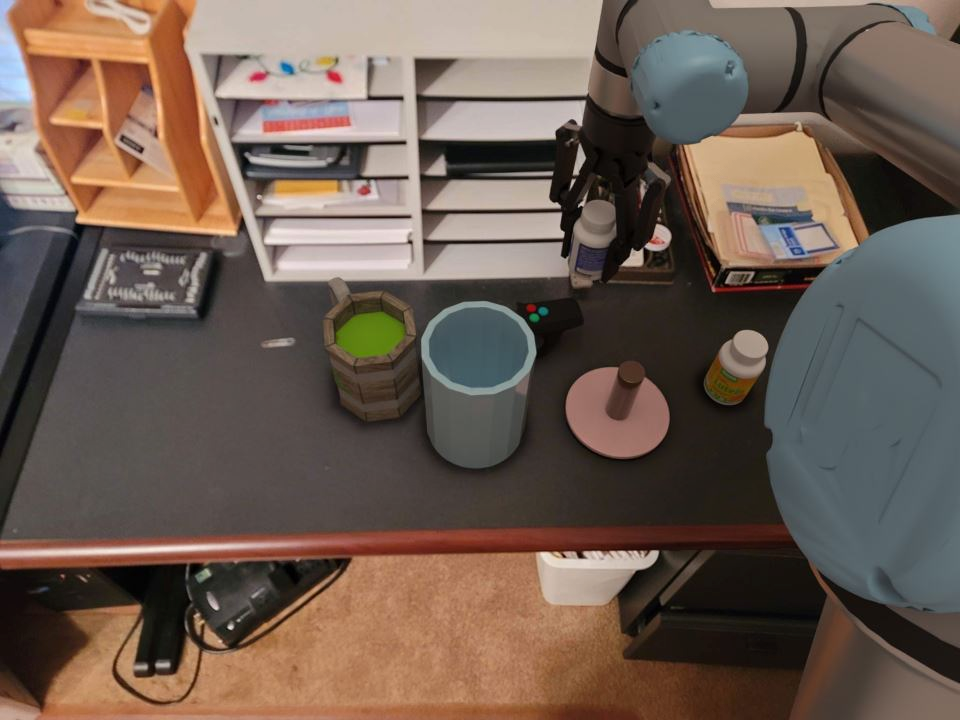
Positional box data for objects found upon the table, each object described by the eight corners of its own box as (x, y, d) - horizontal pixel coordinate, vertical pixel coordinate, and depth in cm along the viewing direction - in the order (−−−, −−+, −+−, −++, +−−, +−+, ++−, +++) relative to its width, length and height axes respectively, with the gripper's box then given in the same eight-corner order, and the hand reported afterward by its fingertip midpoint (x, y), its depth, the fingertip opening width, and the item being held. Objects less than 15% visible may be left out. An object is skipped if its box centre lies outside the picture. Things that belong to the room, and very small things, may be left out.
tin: (542, 421, 85) (558, 342, 71) (480, 487, 80) (484, 416, 66) (471, 368, 89) (473, 283, 75) (407, 428, 84) (397, 349, 70)
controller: (479, 345, 91) (481, 296, 83) (570, 329, 93) (581, 280, 85) (487, 372, 89) (490, 324, 80) (579, 355, 90) (591, 307, 82)
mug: (438, 397, 86) (436, 340, 76) (360, 437, 83) (346, 383, 73) (379, 311, 94) (370, 249, 84) (305, 345, 90) (286, 285, 80)
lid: (674, 388, 88) (696, 343, 80) (657, 474, 81) (679, 435, 73) (578, 361, 90) (589, 314, 82) (553, 443, 83) (563, 401, 75)
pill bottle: (618, 272, 85) (633, 218, 78) (583, 287, 84) (595, 234, 76) (593, 244, 88) (605, 190, 81) (558, 259, 86) (567, 205, 79)
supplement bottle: (699, 399, 87) (724, 355, 79) (706, 365, 90) (730, 319, 82) (743, 411, 86) (772, 368, 78) (748, 377, 89) (776, 332, 81)
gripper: (730, 119, 65) (669, 284, 84) (572, 44, 72) (548, 212, 91) (688, 158, 62) (634, 321, 81) (526, 75, 68) (512, 243, 87)
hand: (589, 263), depth 86 cm, fingers closed on pill bottle, 5 cm apart
